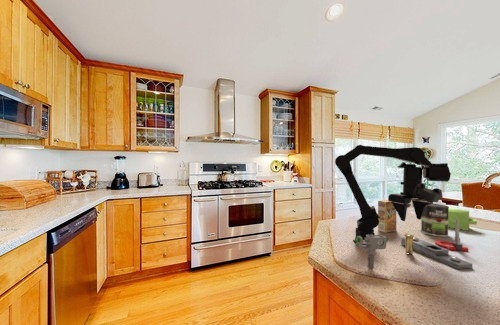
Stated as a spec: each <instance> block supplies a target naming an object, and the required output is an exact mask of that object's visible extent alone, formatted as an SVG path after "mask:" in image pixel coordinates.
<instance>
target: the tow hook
mask: <svg viewBox="0 0 500 325" xmlns="http://www.w3.org/2000/svg"><path fill="white" fill-rule="evenodd" d="M454 235H455V236H454V242H453V241H446V240H435V242H434V243H435V245H436V246H439V247H441V248H444V249H446V250H449V251H455V252H458V251H459V252H469V250H470V249H469V248H468V247H465V246H463V244H461V237H460V229H459V223H458V218H456V223H455V228H454Z"/></svg>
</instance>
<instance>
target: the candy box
mask: <svg viewBox="0 0 500 325" xmlns="http://www.w3.org/2000/svg"><path fill="white" fill-rule="evenodd" d="M377 214H378V215H379V217H380V218H378V219H379V224H378V226H377V231H378V232H382V233H385V234H386V233H391V232H397V211H396V209H395V207H394V206H393V204H392V203H391V201H388V199H385V200H377Z"/></svg>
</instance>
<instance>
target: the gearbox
mask: <svg viewBox="0 0 500 325" xmlns="http://www.w3.org/2000/svg"><path fill="white" fill-rule="evenodd" d="M456 218H458V223H459V230H461V229H462V230H461V231H469V229H470V225H475V226H476V225H477V223H478V220H477V219H476V218H471V217H470V210H466V209H459V208H452V207H451V208H450V207H449V208H448V228H449V227H450V229H455V223H456Z"/></svg>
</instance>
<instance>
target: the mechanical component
mask: <svg viewBox="0 0 500 325" xmlns="http://www.w3.org/2000/svg"><path fill="white" fill-rule="evenodd" d="M354 240H355V241H356V242H355V244H356V246H358V247H359V248H360V249H362V250H365V251H366V253H367V255H368V256H367V257H368V258H367V266H368V267H369V268H370V269H374V267H375V266H374V265H375V255H377V253H376V250H385V249H386V248H387V243H388V241H389V238H388V236H384V235H382V234H375V235H366V238H365V240H363V239H362V237H361V236H357V237H356V236H355V238H354ZM362 244H366V245H362Z"/></svg>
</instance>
